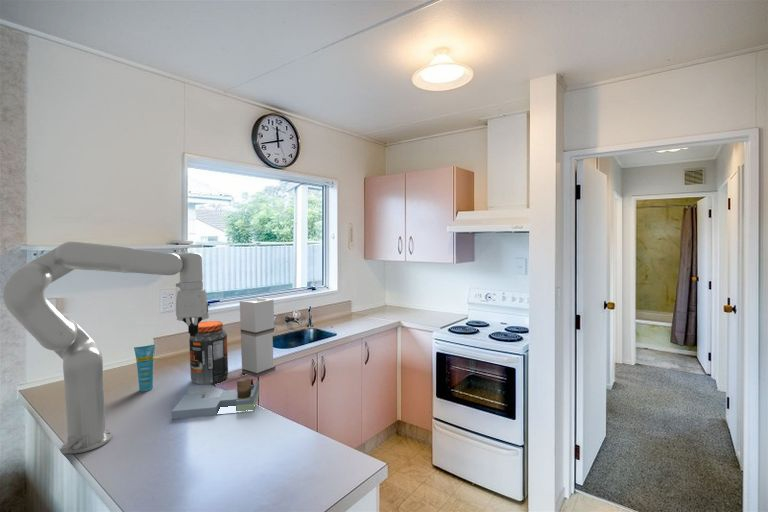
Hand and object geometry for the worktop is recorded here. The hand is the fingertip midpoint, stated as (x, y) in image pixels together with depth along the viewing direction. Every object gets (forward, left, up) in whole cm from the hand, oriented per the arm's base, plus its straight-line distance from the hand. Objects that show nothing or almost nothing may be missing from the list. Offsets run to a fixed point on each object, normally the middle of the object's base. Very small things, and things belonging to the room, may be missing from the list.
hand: (193, 335), depth 140 cm
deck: (+3, -7, -29) cm, 30 cm away
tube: (+27, +28, -29) cm, 49 cm away
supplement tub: (+34, +4, -29) cm, 45 cm away
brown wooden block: (+4, -16, -26) cm, 31 cm away
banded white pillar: (+39, -17, -29) cm, 52 cm away
